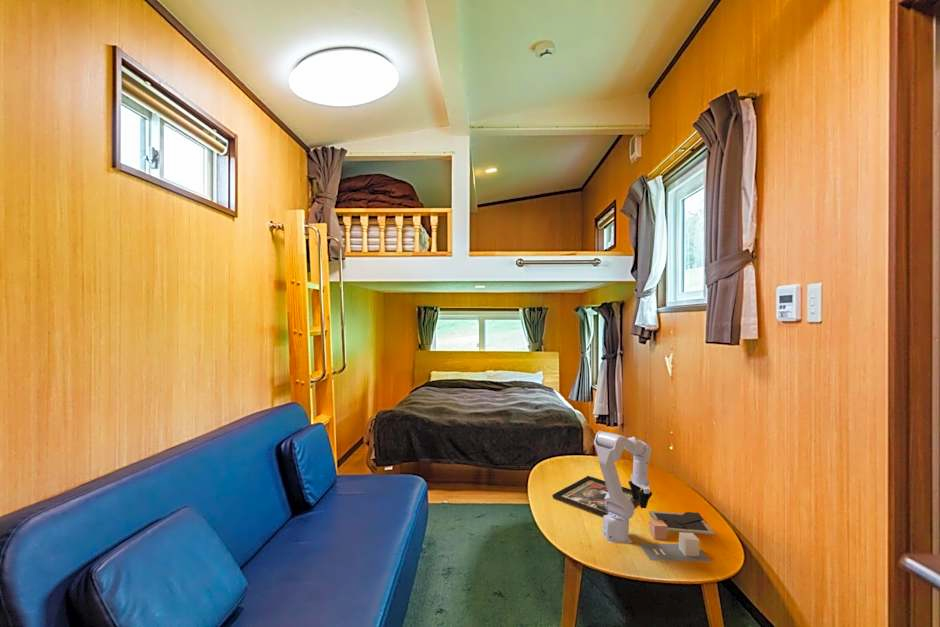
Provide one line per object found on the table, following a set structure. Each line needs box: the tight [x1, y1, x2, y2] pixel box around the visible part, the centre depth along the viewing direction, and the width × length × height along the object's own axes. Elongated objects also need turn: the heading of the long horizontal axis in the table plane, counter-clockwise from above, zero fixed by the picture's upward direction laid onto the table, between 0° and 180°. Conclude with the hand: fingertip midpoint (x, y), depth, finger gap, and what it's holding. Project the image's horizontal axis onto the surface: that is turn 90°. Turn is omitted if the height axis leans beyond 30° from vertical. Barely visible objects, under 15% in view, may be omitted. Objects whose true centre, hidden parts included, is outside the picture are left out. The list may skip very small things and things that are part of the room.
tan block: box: [678, 532, 701, 556], centre depth 159 cm, size 5×5×6 cm
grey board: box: [638, 542, 712, 563], centre depth 159 cm, size 22×11×1 cm, turn 91°
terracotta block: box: [648, 519, 669, 541], centre depth 170 cm, size 5×5×6 cm
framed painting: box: [551, 475, 640, 519], centre depth 204 cm, size 38×35×3 cm
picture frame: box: [648, 510, 716, 536], centre depth 181 cm, size 16×3×21 cm
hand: (639, 503), depth 178 cm, fingers open, 7 cm apart
